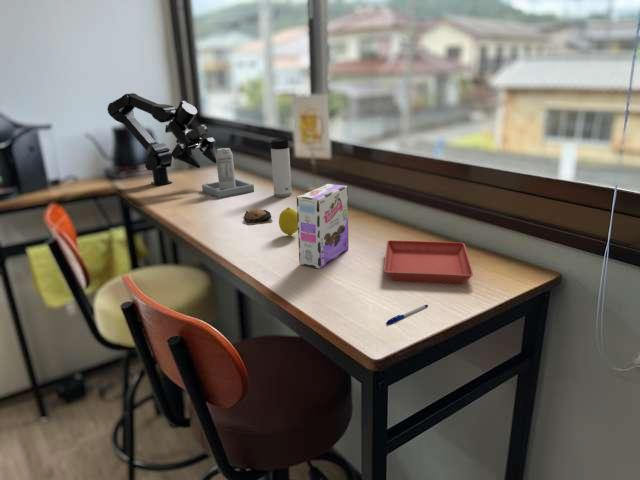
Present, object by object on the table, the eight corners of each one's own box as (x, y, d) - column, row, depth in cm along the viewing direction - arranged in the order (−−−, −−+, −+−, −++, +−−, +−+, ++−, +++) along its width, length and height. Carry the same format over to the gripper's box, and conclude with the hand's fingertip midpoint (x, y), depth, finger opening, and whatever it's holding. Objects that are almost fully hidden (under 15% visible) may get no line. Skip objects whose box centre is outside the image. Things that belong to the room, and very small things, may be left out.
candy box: (320, 269, 107) (317, 199, 102) (298, 264, 110) (294, 196, 105) (349, 249, 118) (348, 184, 112) (329, 245, 121) (327, 182, 115)
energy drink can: (237, 187, 179) (234, 147, 174) (233, 191, 173) (229, 150, 168) (222, 187, 180) (218, 147, 174) (217, 191, 174) (212, 150, 169)
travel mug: (292, 197, 166) (288, 139, 159) (273, 197, 166) (269, 139, 159) (293, 192, 172) (290, 136, 165) (275, 193, 172) (271, 137, 165)
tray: (202, 191, 178) (201, 184, 177) (236, 184, 186) (235, 178, 185) (219, 198, 167) (218, 191, 167) (254, 191, 175) (253, 184, 174)
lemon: (303, 233, 130) (301, 205, 128) (295, 240, 126) (294, 211, 123) (284, 231, 132) (282, 204, 129) (276, 238, 127) (274, 209, 125)
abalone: (274, 224, 141) (273, 212, 139) (245, 227, 139) (244, 215, 137) (269, 214, 150) (268, 203, 149) (242, 216, 148) (241, 205, 147)
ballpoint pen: (389, 326, 84) (389, 321, 83) (385, 325, 84) (385, 320, 84) (428, 307, 90) (428, 302, 89) (424, 306, 90) (424, 301, 90)
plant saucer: (472, 289, 97) (474, 274, 96) (383, 285, 100) (383, 270, 99) (463, 255, 113) (464, 242, 112) (386, 252, 116) (386, 240, 115)
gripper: (173, 121, 166) (200, 155, 165) (209, 115, 181) (234, 146, 180) (160, 142, 173) (186, 175, 171) (195, 135, 188) (220, 165, 187)
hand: (208, 165), depth 177 cm, fingers open, 9 cm apart
